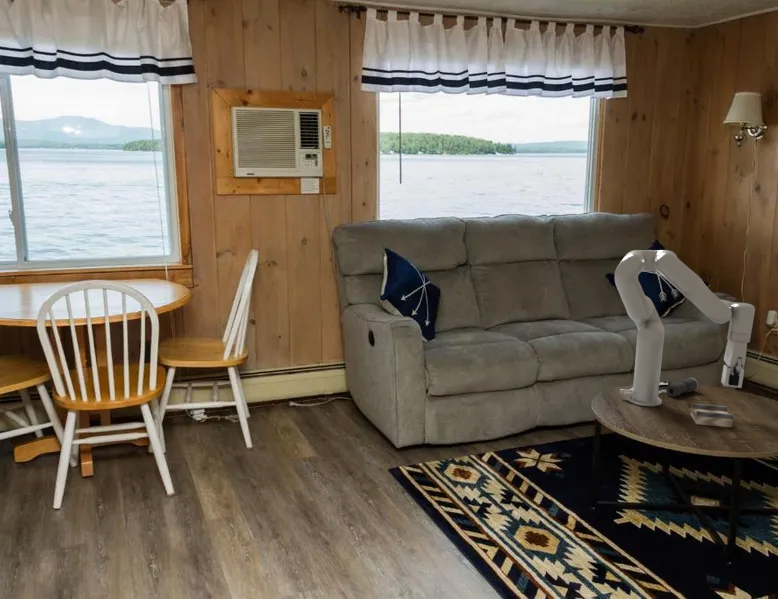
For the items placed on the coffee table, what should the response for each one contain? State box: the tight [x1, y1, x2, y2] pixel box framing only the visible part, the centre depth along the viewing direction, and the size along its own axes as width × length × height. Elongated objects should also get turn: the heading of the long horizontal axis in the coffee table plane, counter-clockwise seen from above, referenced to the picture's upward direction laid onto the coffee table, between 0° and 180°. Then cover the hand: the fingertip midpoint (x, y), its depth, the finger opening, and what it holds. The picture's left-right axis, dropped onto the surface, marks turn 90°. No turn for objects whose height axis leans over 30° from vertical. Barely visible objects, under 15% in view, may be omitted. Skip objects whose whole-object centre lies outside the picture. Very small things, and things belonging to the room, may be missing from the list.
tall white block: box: [720, 364, 745, 389], centre depth 254 cm, size 6×4×7 cm
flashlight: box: [665, 377, 699, 398], centre depth 278 cm, size 15×5×5 cm, turn 126°
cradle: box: [690, 402, 734, 428], centre depth 248 cm, size 12×10×4 cm
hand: (731, 382), depth 254 cm, fingers closed on tall white block, 4 cm apart
